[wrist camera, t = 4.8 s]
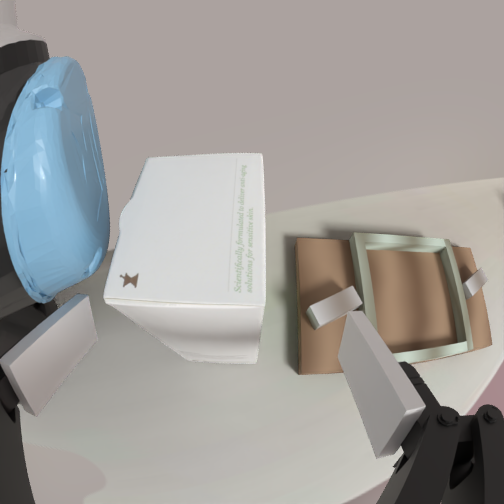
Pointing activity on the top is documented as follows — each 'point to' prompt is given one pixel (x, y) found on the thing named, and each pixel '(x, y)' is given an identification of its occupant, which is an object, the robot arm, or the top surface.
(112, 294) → the skincare box
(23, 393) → the robot arm
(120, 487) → the top surface
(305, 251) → the board
